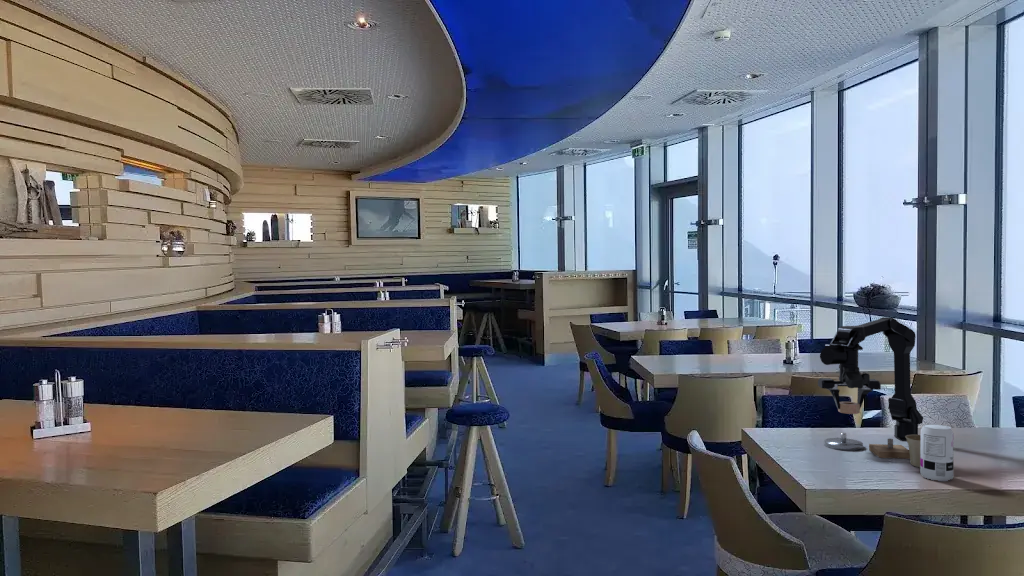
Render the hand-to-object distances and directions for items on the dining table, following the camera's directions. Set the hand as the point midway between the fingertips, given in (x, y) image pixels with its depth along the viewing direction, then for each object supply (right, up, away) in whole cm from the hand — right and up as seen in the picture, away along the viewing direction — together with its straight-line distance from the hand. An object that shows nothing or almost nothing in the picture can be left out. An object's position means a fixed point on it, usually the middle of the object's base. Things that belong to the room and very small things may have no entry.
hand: (848, 409), depth 241 cm
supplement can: (+9, -14, -35) cm, 39 cm away
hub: (-1, -13, +2) cm, 13 cm away
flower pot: (+12, -14, -23) cm, 29 cm away
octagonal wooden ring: (0, -1, 0) cm, 1 cm away
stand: (+9, -13, -9) cm, 19 cm away
